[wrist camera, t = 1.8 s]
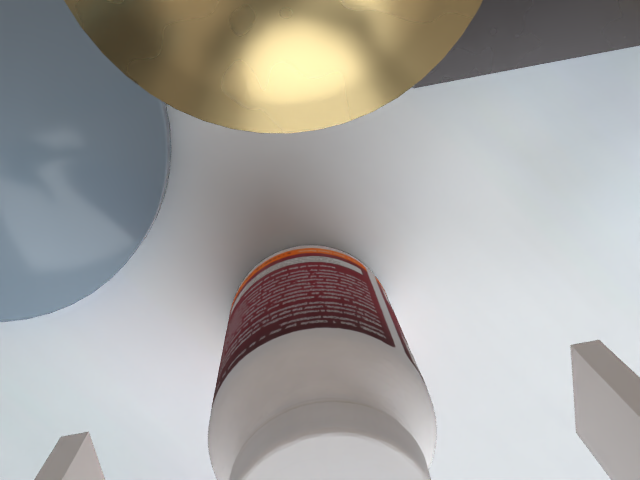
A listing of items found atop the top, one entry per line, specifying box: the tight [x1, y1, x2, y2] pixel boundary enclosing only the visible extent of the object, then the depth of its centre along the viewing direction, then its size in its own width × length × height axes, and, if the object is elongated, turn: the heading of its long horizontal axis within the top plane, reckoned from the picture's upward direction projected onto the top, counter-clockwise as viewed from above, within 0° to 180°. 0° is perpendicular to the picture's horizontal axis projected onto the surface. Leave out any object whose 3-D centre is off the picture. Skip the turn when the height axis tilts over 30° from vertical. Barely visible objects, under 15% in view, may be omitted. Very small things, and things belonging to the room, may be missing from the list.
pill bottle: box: [208, 245, 437, 480], centre depth 18 cm, size 6×6×11 cm
